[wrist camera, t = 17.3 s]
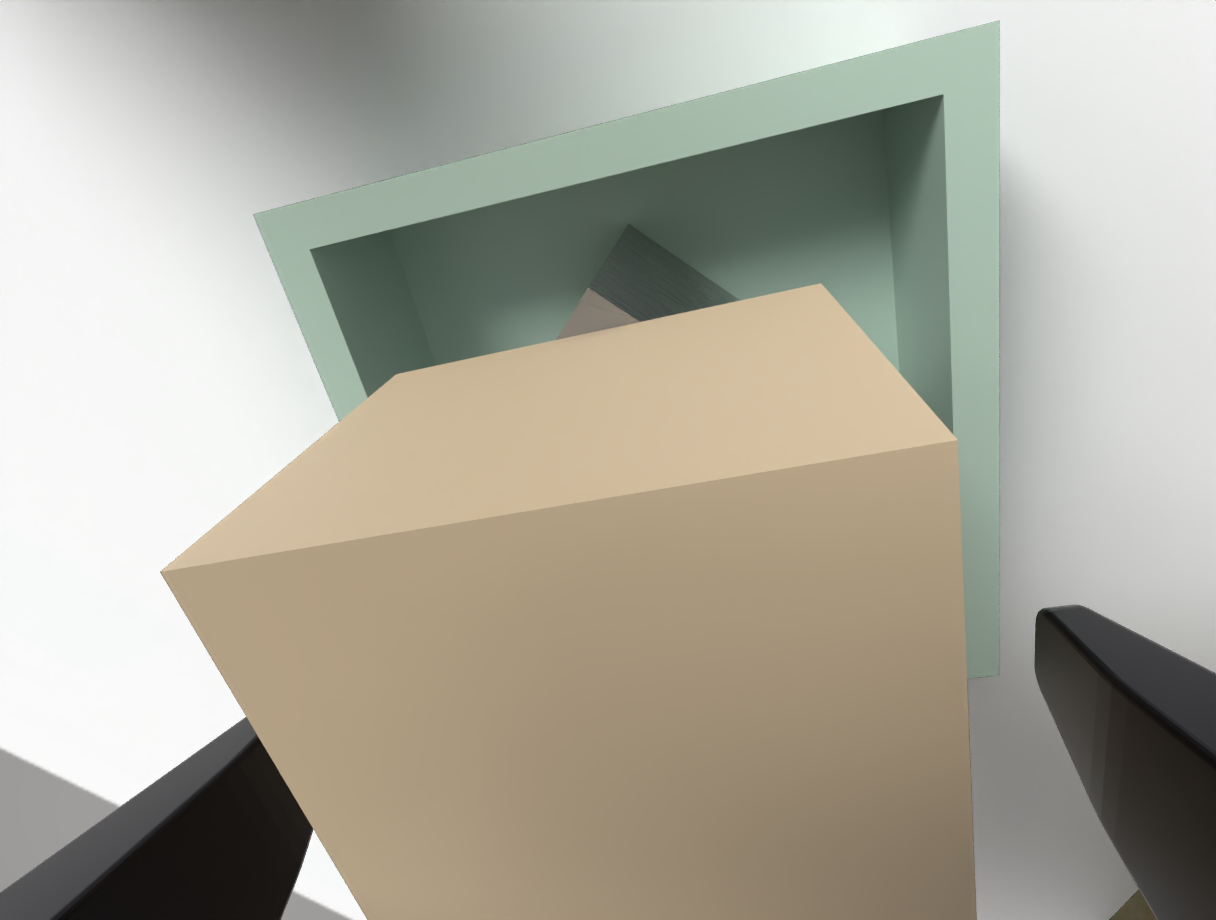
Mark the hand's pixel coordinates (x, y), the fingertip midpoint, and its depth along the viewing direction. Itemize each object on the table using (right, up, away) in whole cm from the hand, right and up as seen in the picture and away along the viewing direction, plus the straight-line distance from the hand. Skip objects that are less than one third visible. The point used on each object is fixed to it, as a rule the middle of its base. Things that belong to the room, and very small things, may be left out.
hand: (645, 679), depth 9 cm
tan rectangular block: (0, +1, +2) cm, 3 cm away
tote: (+1, +5, +9) cm, 10 cm away
